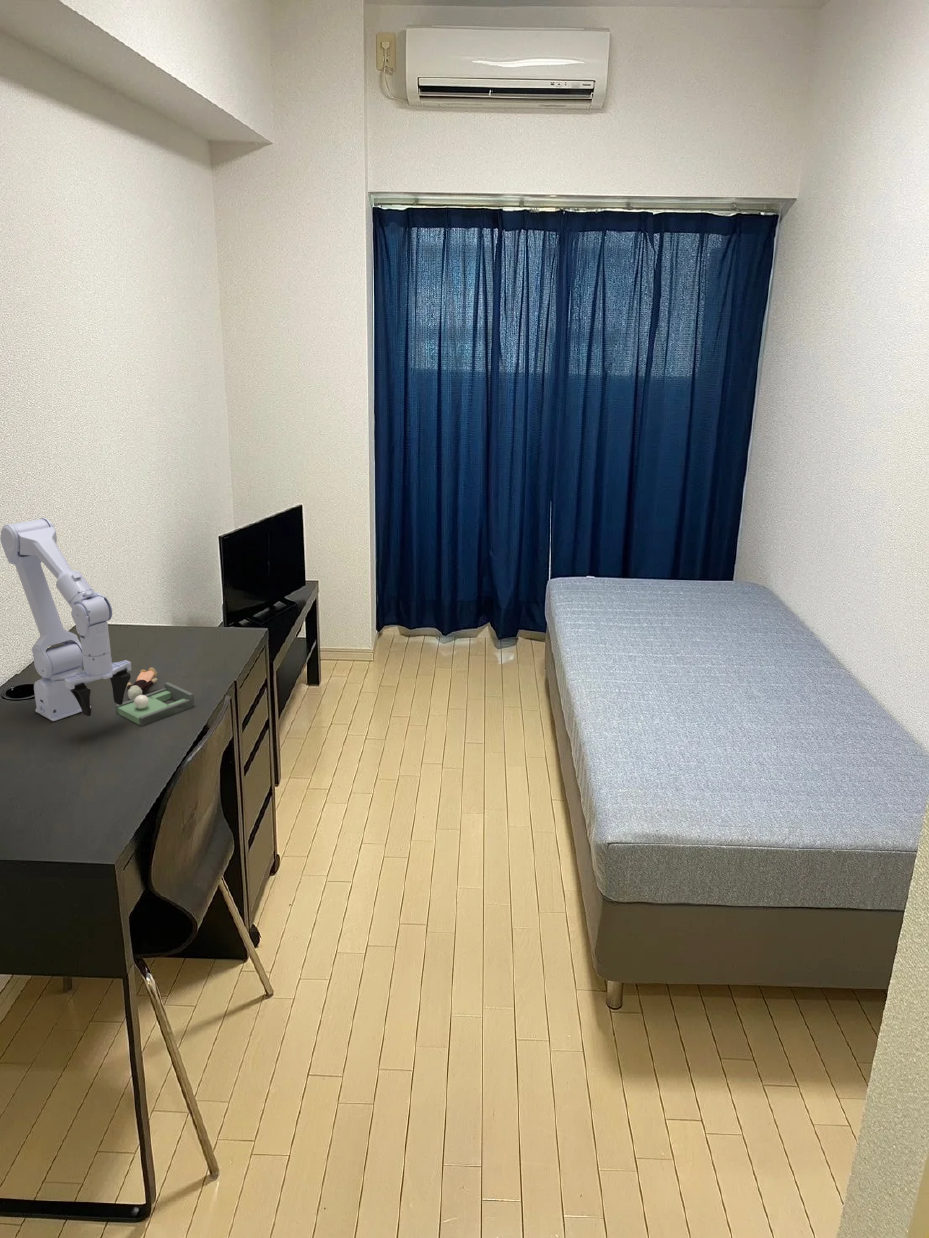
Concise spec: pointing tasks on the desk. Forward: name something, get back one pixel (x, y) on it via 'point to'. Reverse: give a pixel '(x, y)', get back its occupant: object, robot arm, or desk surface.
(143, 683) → the grandmother figurine
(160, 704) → the green walled tray
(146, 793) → the desk surface
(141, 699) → the ball
